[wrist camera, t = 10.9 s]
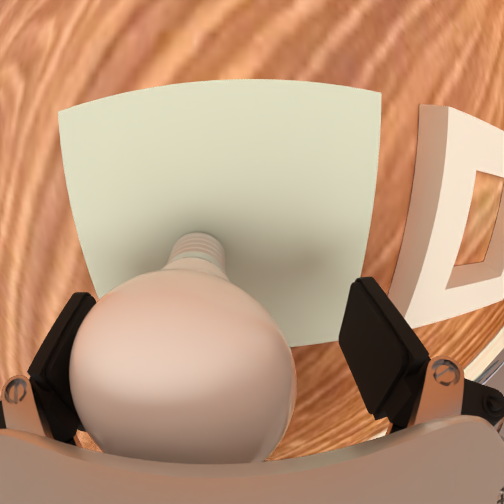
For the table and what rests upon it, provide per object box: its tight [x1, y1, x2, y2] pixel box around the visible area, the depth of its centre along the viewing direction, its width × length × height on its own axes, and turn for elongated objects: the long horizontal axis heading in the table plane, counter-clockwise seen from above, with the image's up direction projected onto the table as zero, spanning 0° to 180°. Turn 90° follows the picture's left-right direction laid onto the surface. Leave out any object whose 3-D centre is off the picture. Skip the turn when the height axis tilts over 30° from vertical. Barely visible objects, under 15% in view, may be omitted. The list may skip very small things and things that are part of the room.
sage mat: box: [58, 79, 381, 347], centre depth 14 cm, size 16×16×1 cm
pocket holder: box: [388, 104, 504, 328], centre depth 14 cm, size 14×14×2 cm
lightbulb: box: [69, 233, 297, 464], centre depth 9 cm, size 6×6×11 cm
